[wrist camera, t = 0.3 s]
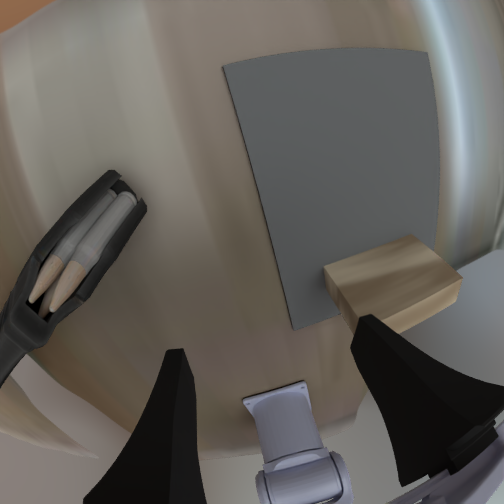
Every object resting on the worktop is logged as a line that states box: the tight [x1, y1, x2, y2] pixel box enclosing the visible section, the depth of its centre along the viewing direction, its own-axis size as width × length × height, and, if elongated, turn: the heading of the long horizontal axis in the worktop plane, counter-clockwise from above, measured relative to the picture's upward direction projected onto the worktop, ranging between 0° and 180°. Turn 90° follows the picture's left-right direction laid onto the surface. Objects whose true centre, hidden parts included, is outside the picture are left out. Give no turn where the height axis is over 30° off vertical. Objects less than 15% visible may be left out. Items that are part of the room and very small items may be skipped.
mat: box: [223, 48, 440, 331], centre depth 19 cm, size 22×16×1 cm
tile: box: [323, 234, 463, 334], centre depth 19 cm, size 2×9×7 cm, turn 104°
